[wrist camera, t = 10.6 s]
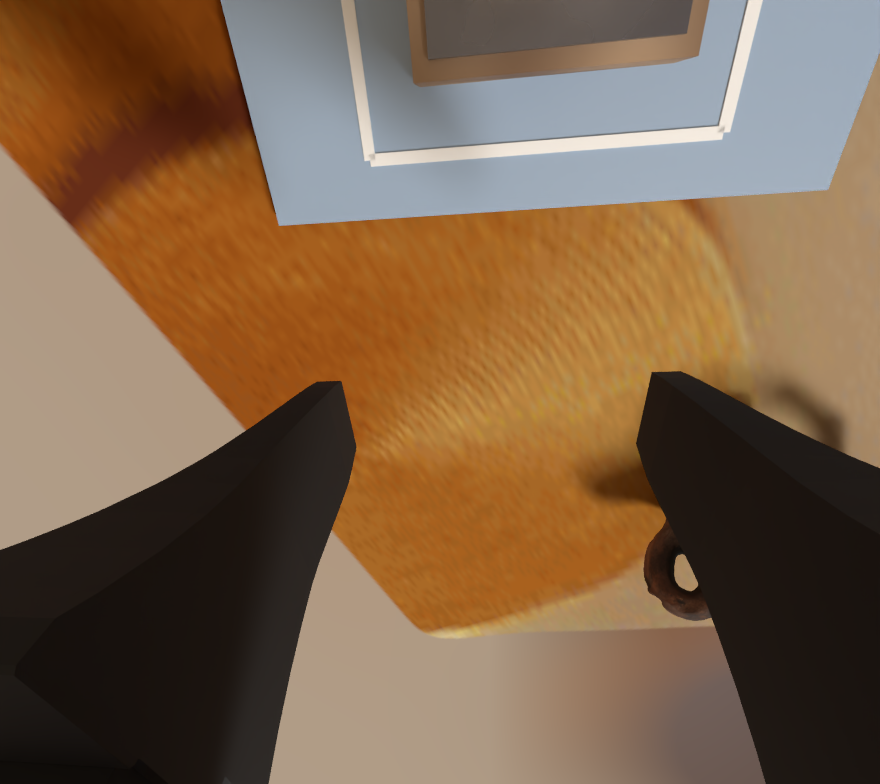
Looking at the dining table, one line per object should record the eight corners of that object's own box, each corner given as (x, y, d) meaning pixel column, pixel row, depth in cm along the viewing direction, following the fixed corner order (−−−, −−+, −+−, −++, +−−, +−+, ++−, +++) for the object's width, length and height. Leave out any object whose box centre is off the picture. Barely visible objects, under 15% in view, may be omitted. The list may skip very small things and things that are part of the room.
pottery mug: (803, 364, 20) (1028, 516, 15) (775, 437, 27) (918, 556, 22) (586, 509, 21) (718, 691, 16) (614, 541, 29) (712, 674, 23)
